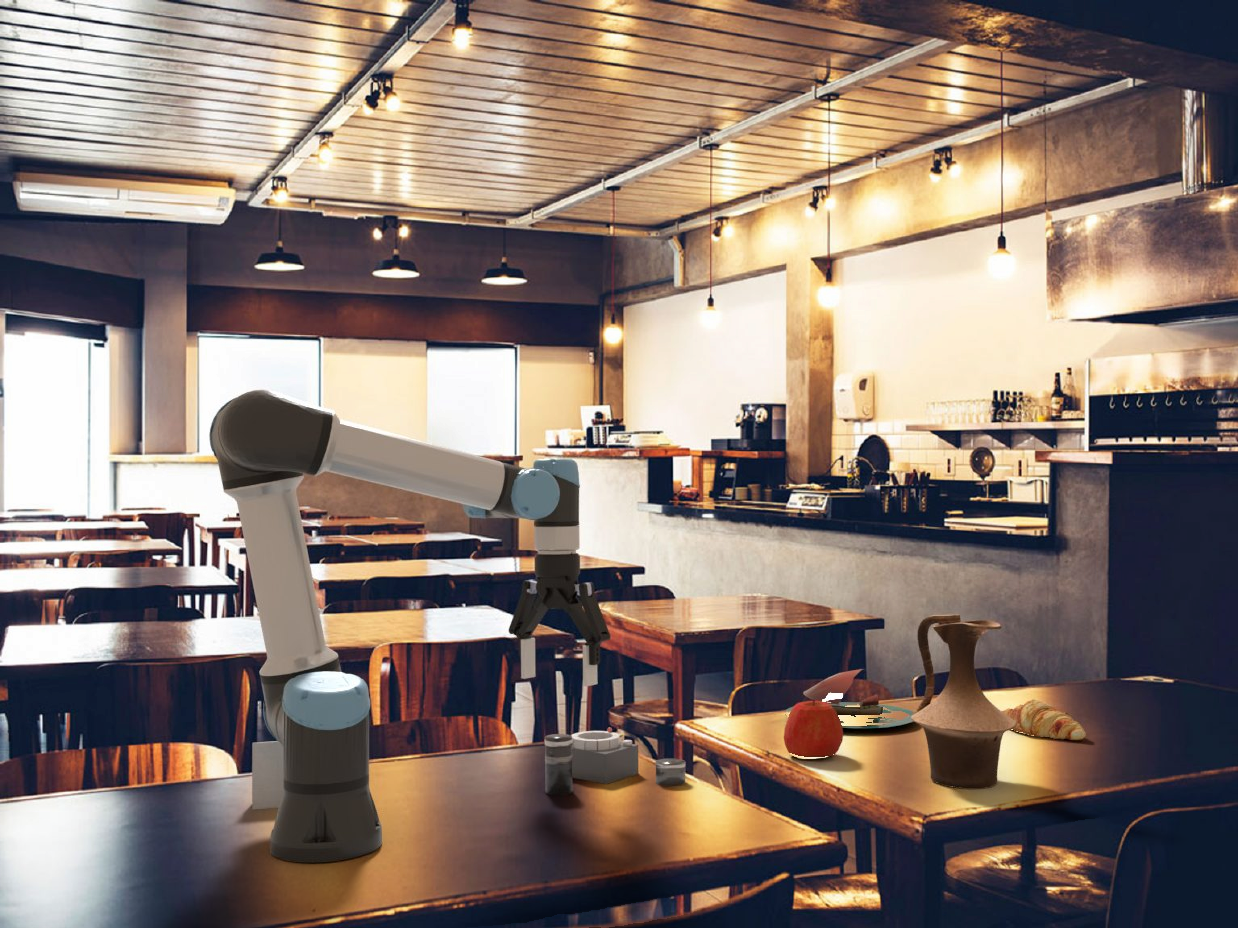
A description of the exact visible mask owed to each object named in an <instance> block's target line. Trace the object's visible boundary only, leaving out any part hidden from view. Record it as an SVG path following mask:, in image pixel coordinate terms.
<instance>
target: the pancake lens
mask: <svg viewBox="0 0 1238 928" xmlns="http://www.w3.org/2000/svg"><path fill="white" fill-rule="evenodd" d="M654 764H655V783H656V785H659V786H662V787H678V786H684V785H685V784H686V761H685V760H683V759H679V758H661V759H657V760H655V761H654Z"/></svg>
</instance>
